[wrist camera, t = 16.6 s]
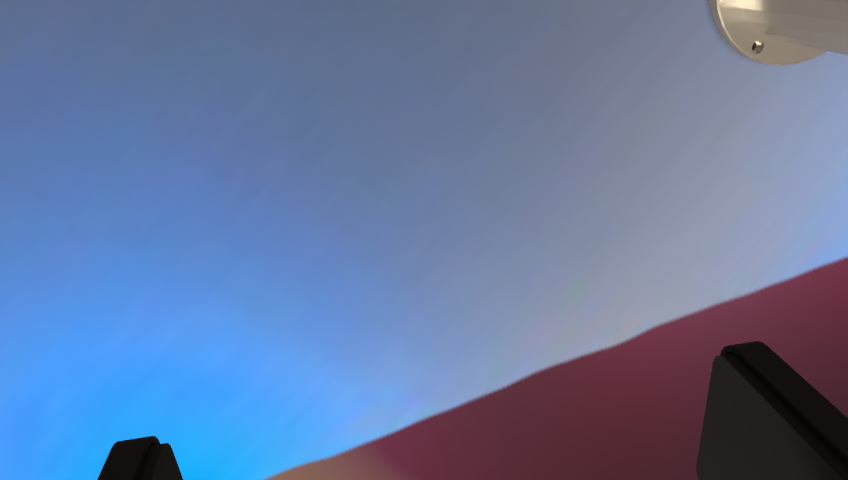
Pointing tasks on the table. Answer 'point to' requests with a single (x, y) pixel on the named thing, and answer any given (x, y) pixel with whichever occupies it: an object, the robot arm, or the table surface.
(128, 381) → the table surface
